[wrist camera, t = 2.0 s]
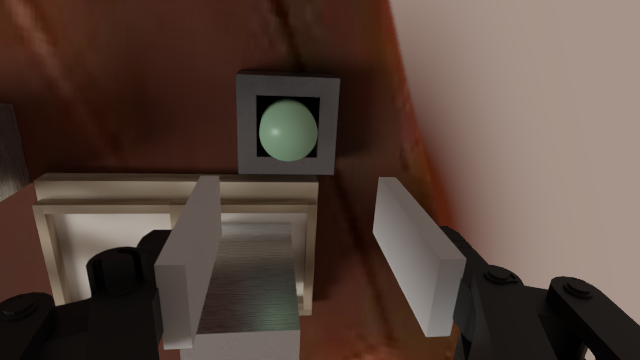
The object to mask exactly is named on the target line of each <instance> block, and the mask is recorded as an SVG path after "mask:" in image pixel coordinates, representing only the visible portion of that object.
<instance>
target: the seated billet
mask: <svg viewBox="0 0 640 360" xmlns="http://www.w3.org/2000/svg"><path fill="white" fill-rule="evenodd" d="M221 225H222V235H221V239H220V243H219V247H218V251H217V255H216V259H215V262H214V266H213V270H212V274H211V278H210V282H209V286H208V290H207V293H206V297H205V301H204V305H203V309H202V313H201V317H200V321H199V325H198V328H197V332H196V336H195V340H194V344H193V348H183V349H180V355H181V360H299V347H300V322H299V312H298V301H297V290H296V279H295V269H294V258H293V247H292V236H291V226H290V222H270V223H221Z"/></svg>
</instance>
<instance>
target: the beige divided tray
mask: <svg viewBox="0 0 640 360" xmlns="http://www.w3.org/2000/svg"><path fill="white" fill-rule="evenodd" d="M200 176H219V180H220V202H221V223H270V222H290V226H291V236H292V247H293V258H294V269H295V279H296V290H297V301H298V312H299V315H311V312H312V294H313V275H314V257H315V239H316V220H317V202H318V179H317V176H316V175H248V174H137V173H45V174H44V175H42V176H41V177H39V178H37V179H36V180H34V185H35V190H36V194H37V198H38V201H37V202H36V203H35V204H33V205H32V208H33V212H34V216H35V220H36V224H37V229H38V233H39V237H40V241H41V245H42V250H43V254H44V258H45V262H46V266H47V270H48V275H49V279H50V283H51V287H52V291H53V296H54V300H55V304H56V306H58V305H63V304H68V303H72V302H77V301H81V300H84V299H88V298H90V297H91V291H90V285H89V280H88V275H87V270H86V264H87V262H88V261H89V259H91V258H92V257H93V256H95V255H96V254H98V253H100V252H103V251H105V250H108V249H112V248H116V247H126V246H129V247H137V245H138V243H139V242H140V240H141V238H142V237H143V236H145V235H146V234H148V233H149V232H151V231H152V230H173V228H174V226H175V224H176V222H177V220H178V218H179V216H180V214H181V212H182V210H183V209H184V207H185V205H186V203H187V201H188V199H189V197H190V195H191V193H192V191H193V189H194V187H195V185H196V183H197V182H198V180H199V178H200Z"/></svg>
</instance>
